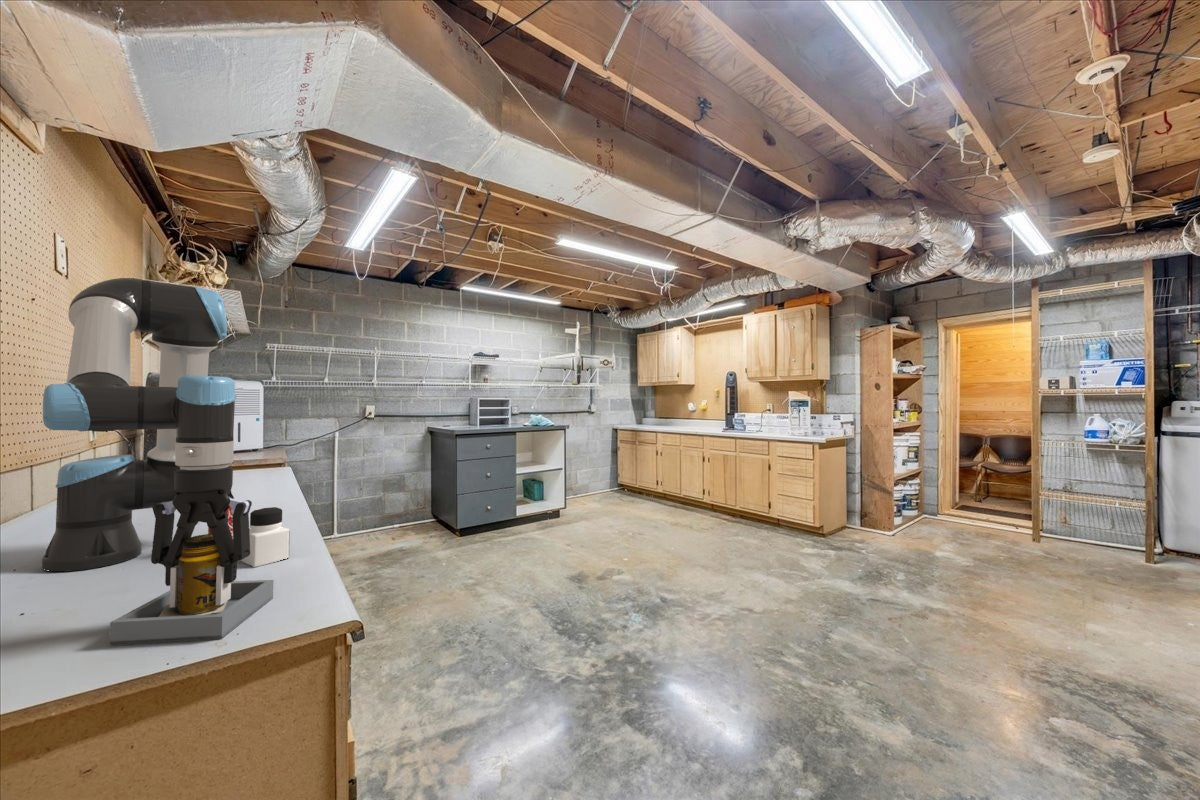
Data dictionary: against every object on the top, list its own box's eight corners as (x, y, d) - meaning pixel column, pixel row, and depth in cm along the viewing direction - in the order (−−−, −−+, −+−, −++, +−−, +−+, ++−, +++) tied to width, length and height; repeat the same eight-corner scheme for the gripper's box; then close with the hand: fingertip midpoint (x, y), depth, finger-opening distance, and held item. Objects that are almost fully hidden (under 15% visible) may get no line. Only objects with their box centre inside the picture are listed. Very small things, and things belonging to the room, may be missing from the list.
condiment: (223, 611, 76) (225, 540, 77) (154, 624, 72) (156, 547, 72) (229, 595, 83) (231, 529, 83) (166, 606, 78) (168, 535, 78)
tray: (182, 602, 83) (182, 583, 84) (273, 598, 86) (273, 579, 86) (109, 645, 69) (110, 622, 69) (221, 639, 71) (222, 616, 71)
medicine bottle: (289, 559, 107) (291, 508, 107) (253, 568, 101) (255, 513, 101) (275, 553, 111) (276, 503, 111) (240, 561, 105) (241, 509, 105)
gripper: (120, 469, 72) (116, 616, 72) (254, 469, 76) (250, 609, 75) (157, 463, 80) (153, 596, 80) (278, 463, 83) (274, 591, 83)
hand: (200, 602), depth 77 cm, fingers closed on condiment, 6 cm apart
